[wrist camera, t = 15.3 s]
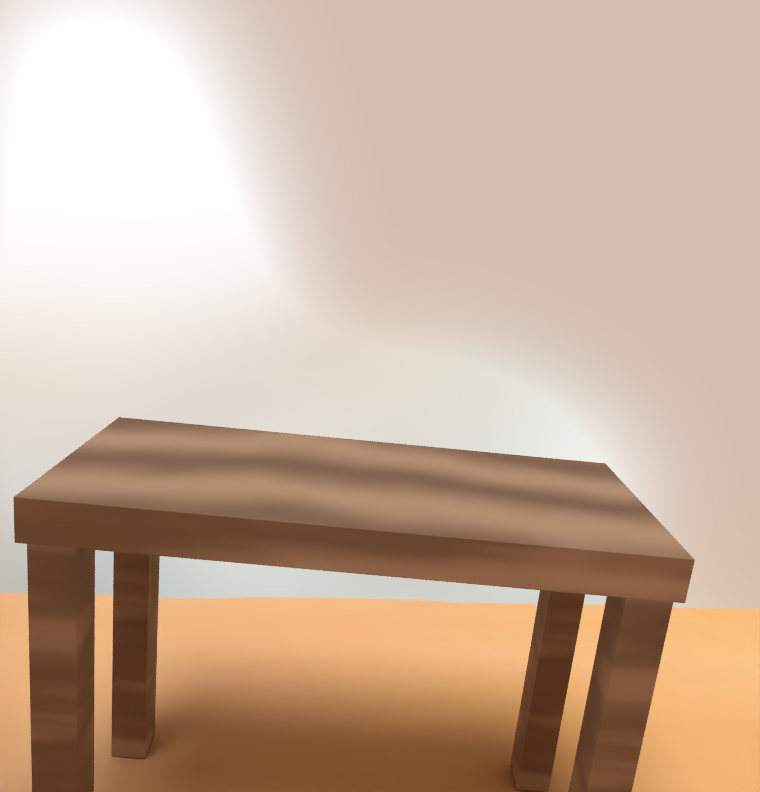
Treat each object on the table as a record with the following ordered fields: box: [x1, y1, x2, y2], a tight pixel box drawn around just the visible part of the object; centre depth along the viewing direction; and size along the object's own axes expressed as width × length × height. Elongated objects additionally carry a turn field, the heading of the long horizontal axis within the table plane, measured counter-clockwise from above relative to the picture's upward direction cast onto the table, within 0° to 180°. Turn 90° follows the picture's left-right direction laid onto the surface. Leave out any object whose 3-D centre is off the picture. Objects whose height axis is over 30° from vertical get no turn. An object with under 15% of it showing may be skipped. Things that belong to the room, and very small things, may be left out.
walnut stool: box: [14, 417, 694, 792], centre depth 37 cm, size 12×28×21 cm, turn 90°
